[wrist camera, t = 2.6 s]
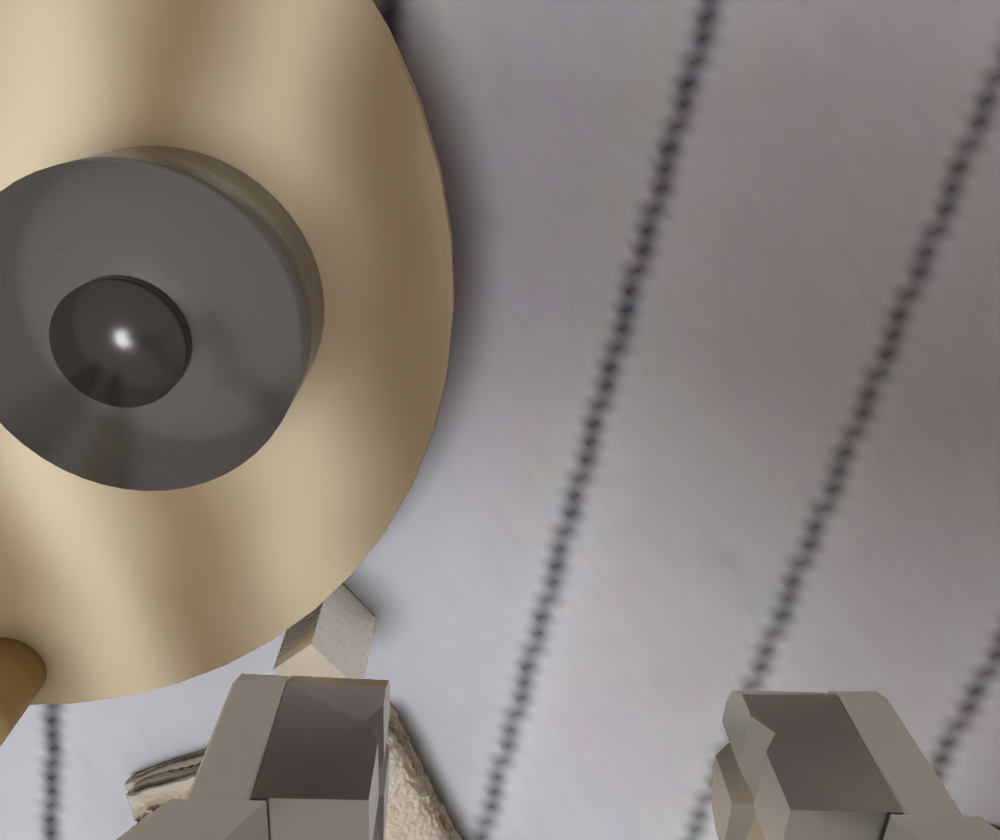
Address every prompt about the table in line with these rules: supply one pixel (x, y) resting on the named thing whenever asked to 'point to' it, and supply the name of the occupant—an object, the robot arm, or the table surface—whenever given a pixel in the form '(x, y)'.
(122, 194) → the iron cover
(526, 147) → the table surface
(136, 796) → the washcloth
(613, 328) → the table surface
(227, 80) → the turntable
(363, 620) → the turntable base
